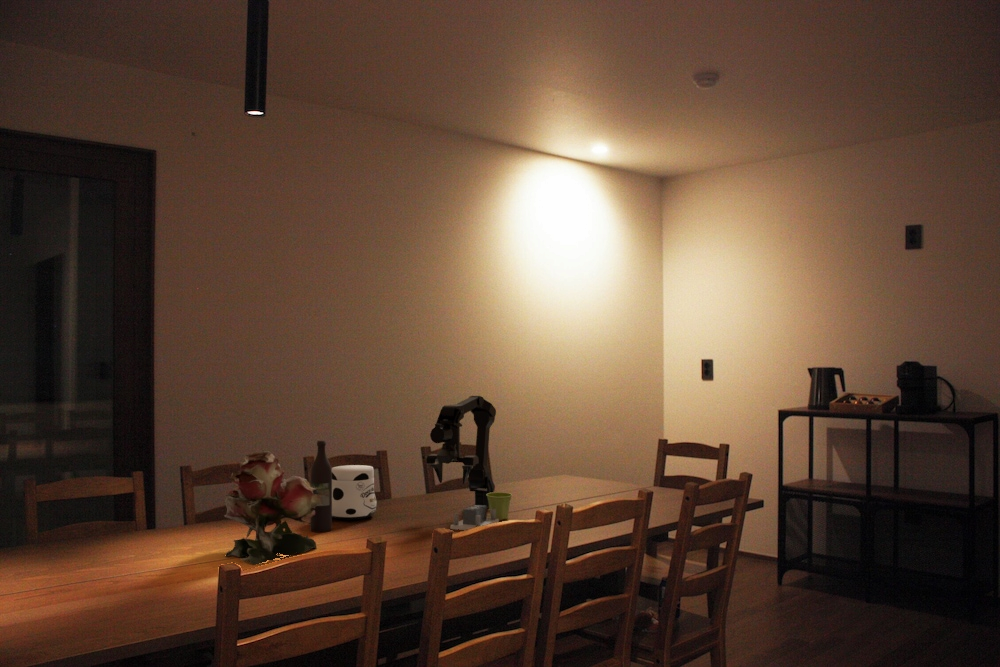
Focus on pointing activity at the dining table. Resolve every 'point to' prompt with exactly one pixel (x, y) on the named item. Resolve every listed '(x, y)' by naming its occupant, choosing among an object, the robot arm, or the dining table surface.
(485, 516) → the grey rectangular block
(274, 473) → the rose bouquet
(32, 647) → the dining table surface
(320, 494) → the wine bottle
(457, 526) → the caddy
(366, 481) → the milk container
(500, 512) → the plant pot
